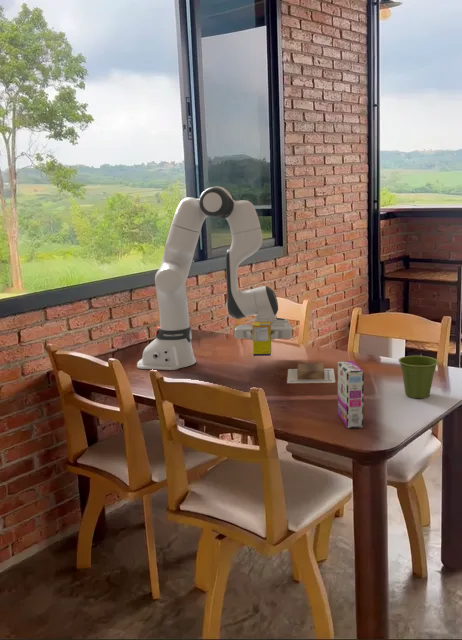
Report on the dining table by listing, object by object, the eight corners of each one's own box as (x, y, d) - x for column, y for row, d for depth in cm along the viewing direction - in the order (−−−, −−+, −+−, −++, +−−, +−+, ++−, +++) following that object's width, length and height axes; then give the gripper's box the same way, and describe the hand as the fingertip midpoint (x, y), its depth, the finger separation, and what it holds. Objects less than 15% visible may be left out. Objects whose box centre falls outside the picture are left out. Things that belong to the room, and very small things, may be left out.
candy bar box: (364, 427, 183) (364, 370, 180) (347, 429, 183) (346, 372, 179) (354, 413, 194) (353, 359, 191) (337, 415, 194) (336, 361, 190)
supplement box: (271, 351, 231) (270, 320, 229) (270, 356, 225) (270, 324, 223) (254, 351, 232) (253, 321, 229) (253, 356, 226) (252, 325, 224)
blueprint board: (287, 386, 222) (286, 382, 221) (288, 372, 237) (288, 368, 237) (335, 386, 220) (335, 382, 220) (333, 371, 235) (333, 368, 235)
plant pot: (431, 403, 199) (432, 367, 197) (393, 398, 205) (393, 363, 203) (442, 392, 209) (442, 357, 207) (405, 387, 215) (405, 353, 213)
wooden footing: (297, 379, 224) (297, 371, 224) (298, 371, 233) (297, 363, 233) (324, 379, 223) (324, 370, 223) (323, 371, 232) (323, 363, 232)
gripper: (235, 319, 240) (231, 328, 227) (292, 319, 238) (291, 328, 225) (236, 336, 242) (231, 346, 228) (292, 336, 239) (291, 346, 226)
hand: (261, 337), depth 226 cm, fingers closed on supplement box, 6 cm apart
